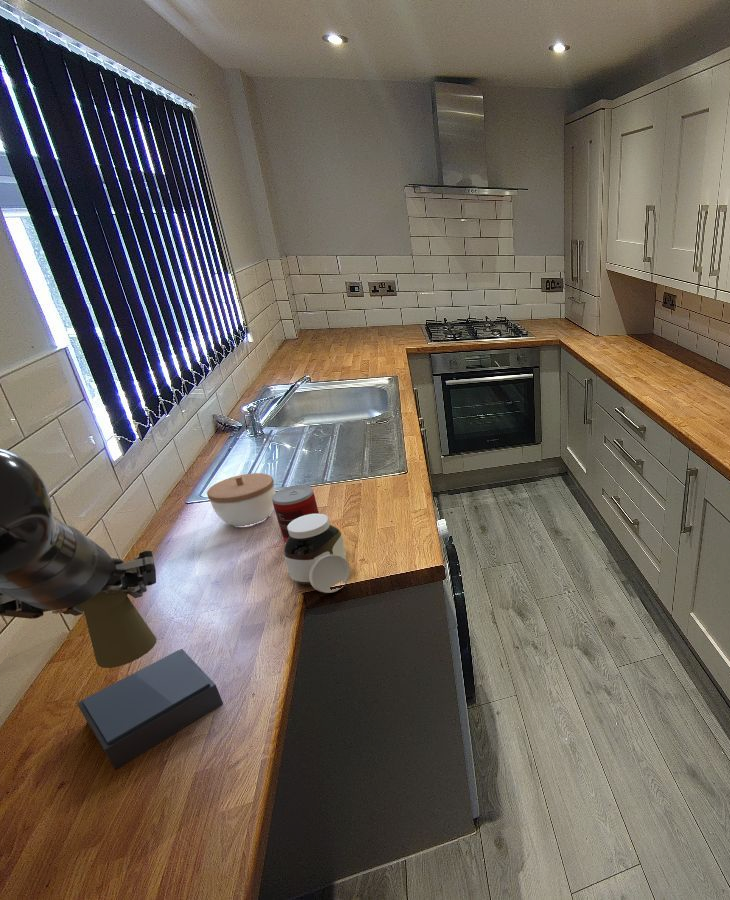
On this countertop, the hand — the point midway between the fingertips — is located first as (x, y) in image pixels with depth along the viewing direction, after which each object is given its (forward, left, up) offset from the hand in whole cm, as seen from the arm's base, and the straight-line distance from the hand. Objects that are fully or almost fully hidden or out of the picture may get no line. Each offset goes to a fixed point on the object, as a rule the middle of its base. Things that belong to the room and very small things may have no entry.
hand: (108, 598), depth 67 cm
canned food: (+34, +26, -19) cm, 47 cm away
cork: (-1, -2, -7) cm, 8 cm away
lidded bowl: (+31, +44, -19) cm, 57 cm away
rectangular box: (-1, -2, -18) cm, 18 cm away
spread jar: (+29, +8, -19) cm, 36 cm away
